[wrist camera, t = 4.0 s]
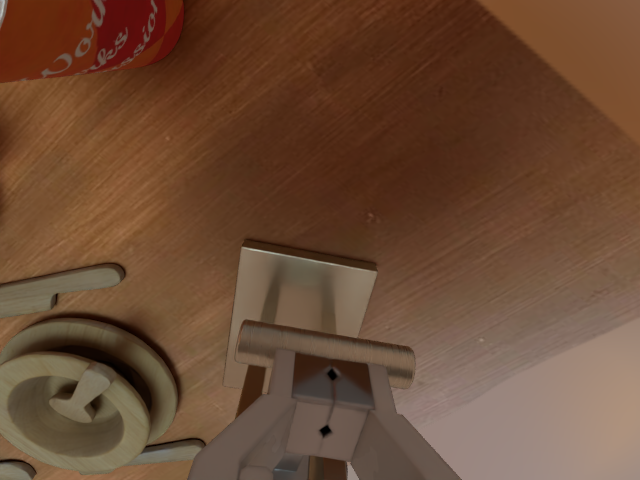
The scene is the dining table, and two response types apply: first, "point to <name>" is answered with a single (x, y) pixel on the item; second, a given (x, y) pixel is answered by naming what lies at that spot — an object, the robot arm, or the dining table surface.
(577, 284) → the dining table surface
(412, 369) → the lever
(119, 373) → the tableware set
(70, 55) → the coffee cup
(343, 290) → the metal lever stand
